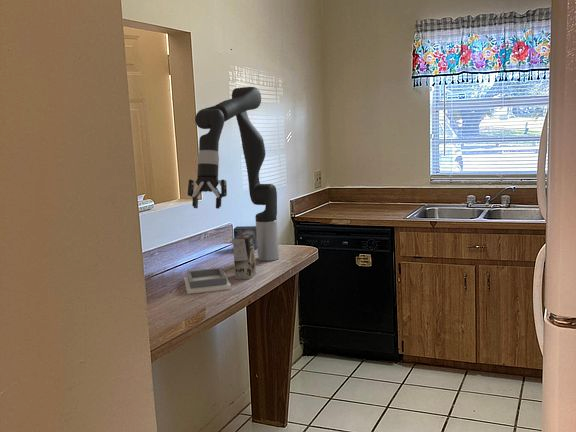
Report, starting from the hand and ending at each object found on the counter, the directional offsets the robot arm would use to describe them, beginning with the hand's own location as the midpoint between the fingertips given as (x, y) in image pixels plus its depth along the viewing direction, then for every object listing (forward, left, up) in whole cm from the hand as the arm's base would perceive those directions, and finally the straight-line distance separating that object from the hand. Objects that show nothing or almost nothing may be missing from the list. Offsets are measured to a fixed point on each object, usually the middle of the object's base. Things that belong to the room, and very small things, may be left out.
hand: (206, 208), depth 218 cm
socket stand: (-7, -2, -30) cm, 31 cm away
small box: (-64, +23, -31) cm, 74 cm away
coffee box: (-13, +14, -30) cm, 36 cm away
